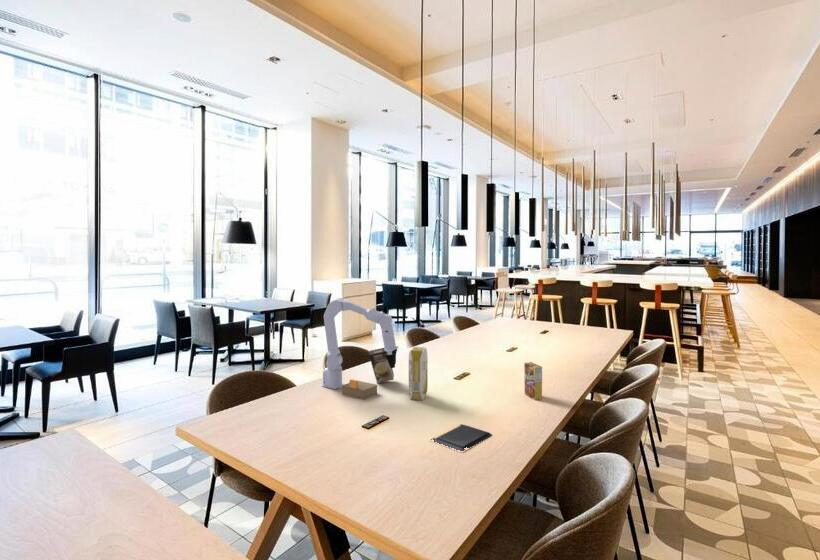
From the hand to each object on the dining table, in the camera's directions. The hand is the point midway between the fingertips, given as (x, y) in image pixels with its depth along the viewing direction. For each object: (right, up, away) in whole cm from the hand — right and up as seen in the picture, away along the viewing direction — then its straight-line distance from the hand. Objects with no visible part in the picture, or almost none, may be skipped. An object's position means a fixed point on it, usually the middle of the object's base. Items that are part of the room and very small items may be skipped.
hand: (393, 365), depth 219 cm
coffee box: (-4, -9, +10) cm, 14 cm away
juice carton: (+12, -12, -14) cm, 22 cm away
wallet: (+27, -16, -57) cm, 65 cm away
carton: (-16, -12, -8) cm, 21 cm away
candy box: (+65, -12, -13) cm, 68 cm away
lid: (-16, -8, -9) cm, 20 cm away
